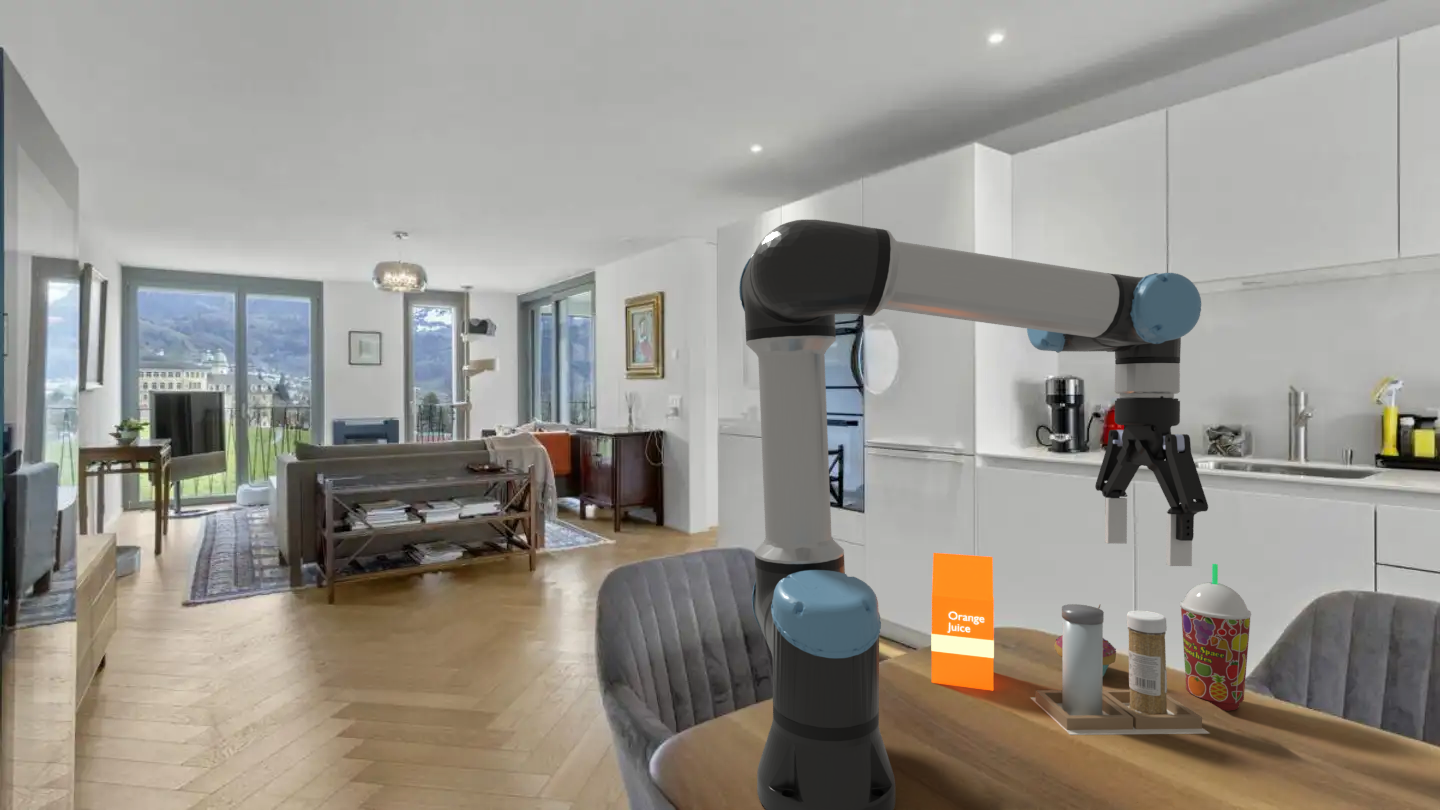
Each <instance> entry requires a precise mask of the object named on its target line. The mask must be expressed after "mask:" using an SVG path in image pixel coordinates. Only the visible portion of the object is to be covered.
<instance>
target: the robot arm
mask: <svg viewBox="0 0 1440 810" xmlns="http://www.w3.org/2000/svg"><path fill="white" fill-rule="evenodd" d="M738 290H739V291H738V292H739V299H740V302H741V307H742V309H743V311H744V324H745V325H744V326H745V344H746V345H747V347H748V348H749V349H750V350H751V351H753V353H755V355H756V356H757V358H758V359H757V360H758V361H757V362H758V377H759V378H758V379H759V380H758V381H759V382H758V384H759V385H758V386H759V402H760V403H759V405H760V406H759V408H760V409H759V410H760V431H761V433H760V436H761V454H762V455H761V456H762V461H761V462H762V480H763V481H762V483H763V504H764V507H763V508H764V509H763V510H764V530H765V532H764V533H765V534H764V535H765V537H764V540H763V541H762V542H761V544H760V545H759V546H758V547H757V548H756V549H755V550H754V567H755V568H754V572H755V573H754V575H755V580H754V584H753V586H752V594H751V607H752V612H753V616H754V618H755V621H756V624H757V625H758V627H759V629H760V630H761V632H762V635H763V636H764V639H765V641H766V643H767V646H768V649H769V651H770V653H771V656H772V657H771V658H772V659H771V660H772V723H771V725H770V729H769V732H768V735H767V738H766V741H765V745H764V746H763V750H762V753H761V756H760V760H759V762H758V766H757V775H756V780H757V781H756V782H757V783H756V784H757V788H756V791H757V796H758V797H757V798H758V800H759V801H760V804H761V805H762V806H763V808H764V809H765V810H894V809H895V807H896V780H895V775H894V772H893V768H892V765H891V763H890V759H889V756H888V753H887V750H886V747H885V743H884V740H883V737H882V733H881V730H880V723H879V721H880V718H879V717H880V712H879V711H880V633H881V628H882V622H881V615H880V612H879V601H878V600H879V599H878V597H877V595H876V592H875V591H874V590H873V589H872V588H871V586H870V585H868V584H867V583H866V582H865V581H864V580H861V579H860V578H858V577H856V576H848V574H847V573H846V569H845V551H844V548H843V547H842V546H840V544H839V543H838V542H837V541H835V539H834V538H833V536H832V518H831V517H832V515H831V492H830V490H831V489H830V466H829V465H830V463H829V461H830V460H829V443H828V442H829V437H828V436H829V435H828V414H827V412H828V411H827V392H826V391H827V389H826V388H827V387H826V386H827V385H826V363H825V359H826V358H825V354H826V352H827V351H828V349H829V348H830V347H831V346H832V345H833V344H834V343H835V341H837V340H836V339H837V338H836V336H837V334H836V315H843V314H844V315H847V314H849V315H850V314H851V315H859V316H866V317H867V316H868V317H874V316H876V315H877V314H878V313H880V312H881V311H883V310H889V311H890V310H891V311H897V312H903V313H904V312H905V313H910V314H911V313H912V314H919V315H926V316H933V317H940V318H948V319H955V320H963V321H969V322H970V321H971V322H978V323H985V324H991V325H998V326H1006V327H1013V328H1014V327H1015V328H1022V329H1026V332H1027V337H1028V340H1029V343H1031V345H1032V346H1033V347H1034V348H1035V349H1037V350H1039V351H1044V352H1045V351H1046V352H1056V353H1057V354H1058V353H1060V352H1107V353H1114V362H1115V363H1114V393H1115V394H1117V395H1119V397H1117V398H1116V400H1114V422H1115V424H1116V425H1118V426H1123V429H1110V430H1108V434H1107V435H1108V437H1107V438H1108V439H1107V446H1106V449H1105V453H1104V456H1103V459H1102V462H1101V465H1100V469H1099V471H1098V472H1099V473H1098V476H1097V479H1096V482H1095V490H1096V491H1100V492H1101V493H1102V496H1103V497H1104V498H1105V503H1104V504H1105V505H1104V507H1105V509H1104V512H1105V513H1104V514H1105V523H1104V524H1105V525H1104V528H1105V529H1104V534H1105V535H1104V540H1105V541H1104V543H1106V544H1118V545H1119V544H1127V541H1128V539H1127V536H1128V535H1127V534H1128V523H1127V522H1128V498H1126V497H1128V495H1127V494H1128V493H1127V492H1126V491H1127V489H1128V488H1129V486H1130V484H1131V483H1132V481H1133V478H1134V477H1135V475H1136V473H1137V472H1138V470H1139V468H1140V467H1142V466H1143V467H1146V468H1147V469H1148V470H1149V471H1151V472H1152V473H1153V474H1154V477H1155V479H1156V481H1157V484H1159V487H1160V489H1161V491H1162V493H1163V495H1164V497H1165V498H1166V501H1167V503H1168V505H1169V507H1170V508H1168V510H1167V511H1166V562H1165V563H1166V564H1165V565H1167V566H1170V567H1192V566H1193V561H1192V560H1193V540H1194V534H1195V533H1194V529H1195V528H1194V524H1195V523H1194V520H1195V515H1196V514H1198V513H1201V512H1207V511H1208V510H1209V505H1208V501H1207V498H1206V494H1205V491H1204V489H1203V485H1202V483H1201V479H1200V476H1199V474H1198V473H1199V472H1198V469H1197V467H1196V464H1195V461H1194V457H1193V454H1192V449H1191V437H1190V435H1189V434H1184V433H1183V434H1182V433H1180V434H1179V433H1177V434H1176V433H1175V434H1174V433H1172V429H1171V428H1172V427H1176V426H1179V425H1180V422H1181V400H1179V398H1175V394H1179V393H1180V392H1181V388H1180V387H1181V385H1180V383H1181V381H1180V378H1181V371H1180V368H1181V365H1180V364H1181V348H1182V347H1181V346H1182V345H1181V344H1182V342H1181V341H1182V337H1184V336H1186V335H1187V334H1189V333H1190V332H1191V331H1192V330H1193V329H1194V328H1195V327H1196V325H1197V324H1198V321H1200V316H1201V311H1202V298H1201V294H1200V292H1199V289H1198V287H1196V285H1195V284H1194V283H1193V282H1192V281H1191V280H1190V279H1189V278H1187V277H1186V276H1184V275H1182V274H1181V273H1174V272H1164V273H1163V272H1162V273H1157V272H1154V273H1152V274H1148V275H1145V276H1141V277H1139V276H1132V275H1126V274H1118V273H1108V272H1101V271H1096V270H1091V269H1090V270H1089V269H1082V268H1076V267H1070V266H1063V265H1056V264H1050V263H1042V262H1037V261H1029V260H1023V259H1017V258H1010V257H1004V256H998V255H990V254H985V253H984V254H983V253H977V252H976V253H975V252H971V251H970V252H969V251H964V250H957V249H951V248H945V247H938V246H931V245H925V244H924V245H923V244H917V243H910V242H903V241H898V240H896V239H895V237H894V236H893V234H892V233H891V232H890V230H887V229H883V228H877V227H876V228H875V227H871V226H869V227H868V226H863V225H858V224H857V225H855V224H851V223H845V222H844V223H843V222H838V221H831V220H830V221H829V220H823V219H822V220H821V219H796V220H791V221H788V222H786V223H783V224H780V225H778V226H777V227H776V228H773V229H772V230H770V232H768V233H767V234H766V235H765V236H764V237H763V238H762V240H761V241H760V243H759V244H758V246H757V247H756V250H755V251H754V253H753V254H752V255H751V256H750V258H749V259H747V262H746V264H745V265H744V268H743V270H742V273H741V276H740V280H739V289H738Z"/></svg>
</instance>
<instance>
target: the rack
mask: <svg viewBox="0 0 1440 810" xmlns="http://www.w3.org/2000/svg"><path fill="white" fill-rule="evenodd" d="M1166 698H1167V701H1166V702H1167V712H1168V715H1138V714H1137V713H1135V712H1134V711H1133V710H1131V709H1130V708H1129V705H1130V689H1102V715H1071V716H1070V715H1069V714H1068V713H1067V712H1065V711H1064V710H1063V709H1062V689H1059V690H1058V689H1057V690H1049V689H1047V690H1043V689H1041V690H1040V689H1039V690H1037V689H1036V690H1035V697H1031V696H1030V699H1031V700H1032V701H1033V702H1034V703H1035V704H1036V705H1037V706H1038V707H1040V708H1041V709H1042V710H1043V711H1044V712H1045V713H1046V714H1047V715H1048V716H1049V717H1050V718H1052V720H1054V722H1056V723H1057V724H1058V725H1059V726H1060V727H1061V728H1062V729H1063V730H1064V731H1066V732H1067V734H1068V735H1070V736H1083V735H1085V736H1090V735H1092V736H1093V735H1097V736H1098V735H1103V736H1105V735H1109V736H1110V735H1168V734H1169V735H1183V734H1184V735H1187V734H1188V735H1190V734H1191V735H1192V734H1193V735H1194V734H1196V735H1197V734H1198V735H1199V734H1202V735H1203V734H1204V735H1205V734H1211V732H1210V731H1207V730H1206V729H1205V728H1203V717H1202V716H1201V715H1199V714H1198V713H1196V712H1194V711H1193V710H1192V709H1190V708H1189V707H1187V706H1185V705H1184V704H1182V703H1181V702H1179V700H1176V699H1174V698H1173V697H1171V696H1170V695H1168V694H1167V693H1166Z"/></svg>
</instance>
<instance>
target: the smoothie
mask: <svg viewBox="0 0 1440 810" xmlns="http://www.w3.org/2000/svg"><path fill="white" fill-rule="evenodd" d="M1211 566H1212V567H1211V568H1212V569H1211V570H1212V571H1211V576H1212V577H1211V582H1202V583H1199V584H1197V585H1195V586H1193V587H1192V588H1191V589H1189V590H1188V591H1187V593H1186V595H1185V596H1184V599H1183V600H1181V601H1180V602H1179V606H1180V611H1181V615H1180V616H1181V628H1182V629H1181V630H1182V631H1181V632H1182V641H1183V642H1182V643H1183V658H1184V659H1183V661H1184V672H1185V690H1186V691H1187V692H1189V693H1190V694H1191V695H1193V696H1195V697H1196V698H1200V699H1202V700H1205V701H1207V702H1208V703H1210V704H1211V705H1213V706H1215V707H1217V708H1218V709H1220V710H1222V711H1223V710H1225V712H1227V711H1231V712H1232V711H1234V710H1238V709H1239V708H1240V703H1242V702H1243V701H1244V700H1245V690H1246V689H1245V688H1246V675H1247V665H1248V663H1247V662H1248V653H1249V652H1248V650H1249V640H1250V628H1251V617H1252V611H1250V610H1249V609H1248V606H1247V605H1246V603H1245V601H1244V599H1243V597H1241V596H1240V594H1239V593H1238V592H1237V591H1235V590H1234V589H1232V588H1231V587H1229V586H1228V585H1226V584H1223V583H1219V579H1218V578H1219V577H1218V575H1219V573H1218V572H1219V569H1218V567H1219V565H1218V564H1217V563H1212V565H1211Z"/></svg>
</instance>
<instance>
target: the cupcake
mask: <svg viewBox="0 0 1440 810" xmlns="http://www.w3.org/2000/svg"><path fill="white" fill-rule="evenodd" d="M1097 608H1098V609H1101V604H1099V605H1098V607H1097ZM1116 650H1117V648H1116V647H1114V645H1113V644H1111V642H1110V641H1109V640H1107V639H1105V638H1104V637H1103V677H1104V676H1105V675H1106V672H1107V669H1108V668H1109V665H1111V664H1113V663H1115V662H1116V659H1117V651H1116ZM1054 651H1055V652H1056V654H1057V655H1058V656H1059V657H1061V658H1062V656H1063V634H1062V635H1059V636H1058V637H1057V639H1055V643H1054Z"/></svg>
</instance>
